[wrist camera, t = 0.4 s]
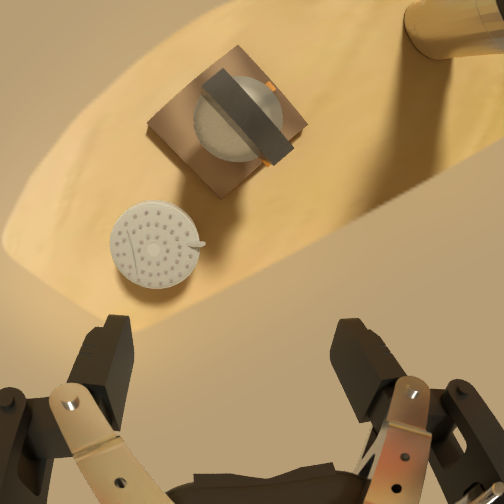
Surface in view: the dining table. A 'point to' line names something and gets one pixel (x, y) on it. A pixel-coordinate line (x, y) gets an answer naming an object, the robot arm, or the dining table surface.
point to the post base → (185, 139)
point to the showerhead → (155, 244)
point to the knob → (240, 120)
